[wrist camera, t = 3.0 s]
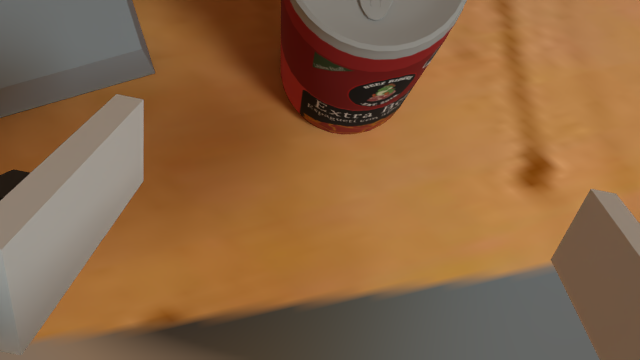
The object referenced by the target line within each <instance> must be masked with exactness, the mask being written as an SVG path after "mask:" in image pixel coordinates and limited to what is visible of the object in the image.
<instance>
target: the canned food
mask: <svg viewBox="0 0 640 360" xmlns="http://www.w3.org/2000/svg"><path fill="white" fill-rule="evenodd" d="M466 1H467V0H281V78H282V82H283V86H284V90H285V92H286V94H287V96H288V98H289V101H290V102H291V103H292V105H293V106H294V107H295V109H296V110H297V111H298V112H299V113H300V114H301V115H302V116H303V117H304V118H305V119H306V120H307V121H308V122H310V123H311V124H313V125H315V126H316V127H318V128H320V129H323V130H325V131H328V132H331V133H337V134H357V133H361V132H365V131H369V130H371V129H374V128H376V127H378V126H380V125H381V124H383V123H384V122H385V121H387V120H388V119H389V118H391V117H392V115H393V114H394V113H395V112H396V111H397V110H398V109H399V107H400V106H401V104H402V103H403V101H404V100H405V98H406V97H407V95H408V94H409V92H410V91H411V89H412V88H413V86H414V85H415V83H416V82H417V80H418V79H419V78H420V76H421V75H422V73H423V72H424V70H425V69H426V67H427V66H428V64H429V63H430V61H431V60H432V58H433V57H434V55H435V54H436V52H437V51H438V49H439V48H440V46H441V45H442V43H443V42H444V40H445V39H446V37H447V36H448V34H449V32H450V30H451V29H452V27H453V26H454V24H455V23H456V21H457V19H458V17H459V15H460V14H461V12H462V10H463V7H464V5H465V3H466Z"/></svg>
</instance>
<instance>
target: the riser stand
mask: <svg viewBox="0 0 640 360" xmlns="http://www.w3.org/2000/svg"><path fill="white" fill-rule="evenodd" d="M154 73H155V71H154V68H153V65H152V62H151V58H150V55H149V52H148V49H147V46H146V43H145V39H144V36H143V33H142V30H141V27H140V24H139V21H138V17H137V14H136V11H135V8H134V5H133V2H132V0H0V118H1V117H4V116H8V115H11V114H15V113H18V112H22V111H25V110H29V109H32V108H36V107H39V106H43V105H46V104H50V103H53V102H56V101H60V100H63V99H67V98H70V97H74V96H77V95H81V94H84V93H88V92H91V91H95V90H98V89H102V88H105V87H109V86H112V85H116V84H119V83H123V82H126V81H130V80H133V79H137V78H140V77H144V76H147V75H150V74H154Z"/></svg>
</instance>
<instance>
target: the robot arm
mask: <svg viewBox="0 0 640 360" xmlns="http://www.w3.org/2000/svg"><path fill="white" fill-rule="evenodd" d="M143 147H144V99H139V98H134V97H129V96H124V95H119V94H116V95H115V96H114V97H113V98H112V99H111V100H110V101H108V102H107V103H106V104H105V105H104V106H103V107H102V108H101V109H100V110H99V111H98V112H96V113H95V114H94V115H93V116H92V117H91V118H90V119H89V120H88V121H87V122H86V123H84V124H83V125H82V126H81V127H80V128H79V129H78V130H77V131H76V132H75V133H74V134H72V135H71V136H70V137H69V138H68V139H67V140H66V141H65V142H64V143H63V144H62V145H60V146H59V147H58V148H57V149H56V150H55V151H54V152H53V153H52V154H51V155H50V156H48V157H47V158H46V159H45V160H44V161H43V162H42V163H41V164H40V165H39V166H38V167H37V168H35V169H34V170H33V171H32V172H31V173H29V172H23V171H18V170H11V171H9V172H6V173H4V174H2V175H0V352H6V353H12V354H17V355H22V354H23V353H24V351H25V350H26V348H27V347H28V345H29V344H30V343H31V341H32V340H33V338H34V337H35V335H36V334H37V333H38V331H39V330H40V328H41V327H42V325H43V324H44V323H45V321H46V320H47V318H48V317H49V315H50V314H51V312H52V311H53V310H54V308H55V307H56V305H57V304H58V302H59V301H60V300H61V298H62V297H63V295H64V294H65V292H66V291H67V290H68V288H69V287H70V285H71V284H72V282H73V281H74V280H75V278H76V277H77V275H78V274H79V272H80V271H81V270H82V268H83V267H84V265H85V264H86V262H87V261H88V260H89V258H90V257H91V255H92V254H93V252H94V251H95V249H96V248H97V247H98V245H99V244H100V242H101V241H102V239H103V238H104V237H105V235H106V234H107V232H108V231H109V229H110V228H111V227H112V225H113V224H114V222H115V221H116V219H117V218H118V217H119V215H120V214H121V212H122V211H123V209H124V208H125V207H126V205H127V204H128V202H129V201H130V199H131V198H132V197H133V195H134V194H135V192H136V191H137V189H138V188H139V186H140V185H141V184H142V182H143ZM551 261H552V263H553V265H554V267H555V269H556V271H557V273H558V275H559V277H560V279H561V281H562V283H563V285H564V287H565V289H566V292H567V293H568V296H569V298H570V300H571V302H572V304H573V306H574V308H575V310H576V312H577V314H578V316H579V318H580V320H581V322H582V324H583V326H584V328H585V330H586V332H587V334H588V336H589V339H590V340H591V343H592V345H593V347H594V349H595V350H596V353H597V355H598V357H599V359H600V360H640V224H639V222H638V221H637V220H636V219H635V217H634V216H633V215H632V213H631V212H630V211H629V210H628V208H627V207H626V206H625V205H624V203H623V202H622V201H621V200H620V198H619V197H618V196H617V195H616V194H614V193H609V192H604V191H599V190H594V189H590V191H589V193H588V195H587V196H586V198H585V200H584V202H583V204H582V205H581V207H580V209H579V211H578V212H577V214H576V216H575V218H574V220H573V221H572V223H571V225H570V227H569V228H568V230H567V232H566V234H565V235H564V237H563V239H562V241H561V243H560V244H559V246H558V248H557V250H556V251H555V253H554V255H553V257H552V259H551Z"/></svg>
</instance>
